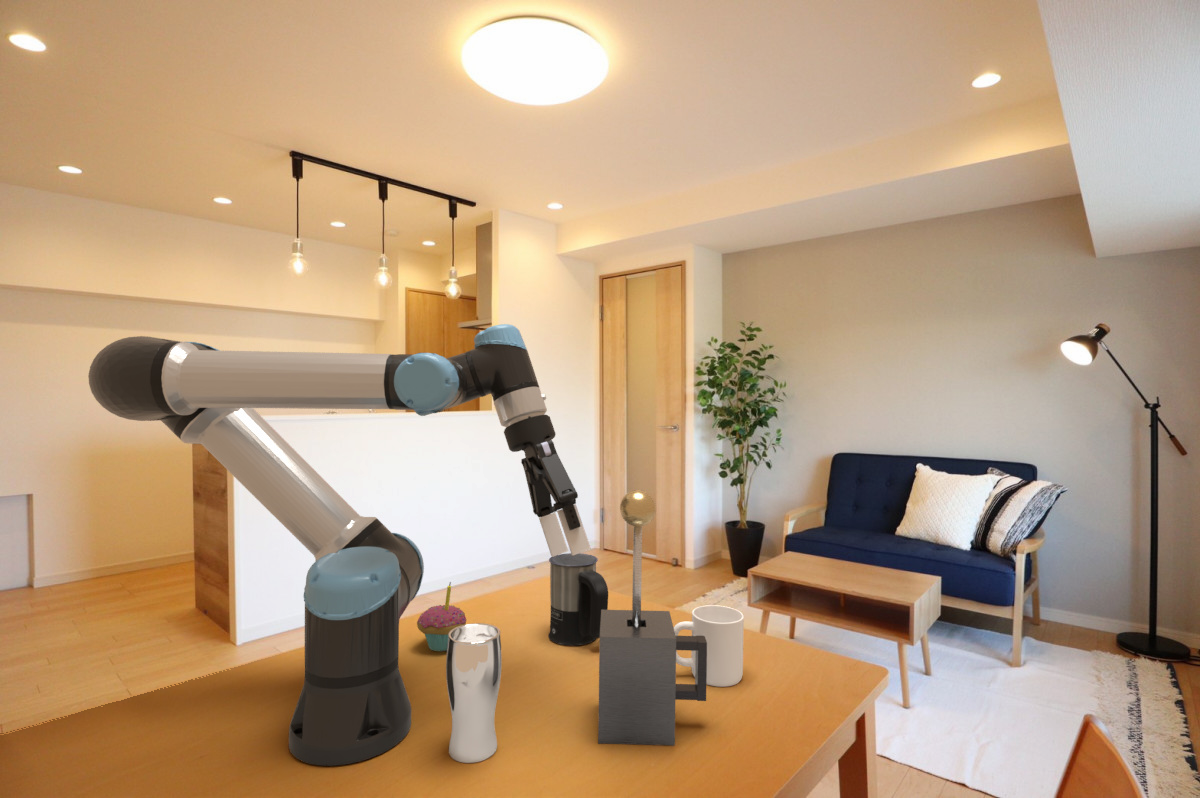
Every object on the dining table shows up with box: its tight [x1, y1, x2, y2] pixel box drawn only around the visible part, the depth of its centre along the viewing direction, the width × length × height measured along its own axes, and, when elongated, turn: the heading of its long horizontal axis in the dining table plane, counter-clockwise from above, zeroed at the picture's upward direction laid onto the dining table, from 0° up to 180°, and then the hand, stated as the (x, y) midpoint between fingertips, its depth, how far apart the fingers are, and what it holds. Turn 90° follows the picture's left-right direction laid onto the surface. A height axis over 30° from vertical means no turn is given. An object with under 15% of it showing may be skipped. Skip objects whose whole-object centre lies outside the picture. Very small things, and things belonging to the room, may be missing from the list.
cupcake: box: [416, 581, 467, 652], centre depth 109 cm, size 9×8×12 cm
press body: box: [597, 609, 707, 746], centre depth 84 cm, size 15×10×14 cm
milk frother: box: [548, 552, 609, 647], centre depth 115 cm, size 14×16×15 cm
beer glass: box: [445, 622, 503, 764], centre depth 77 cm, size 7×7×15 cm
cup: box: [673, 604, 745, 688], centre depth 99 cm, size 8×12×10 cm
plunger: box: [619, 489, 657, 627], centre depth 84 cm, size 8×8×22 cm
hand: (570, 553), depth 91 cm, fingers open, 13 cm apart
